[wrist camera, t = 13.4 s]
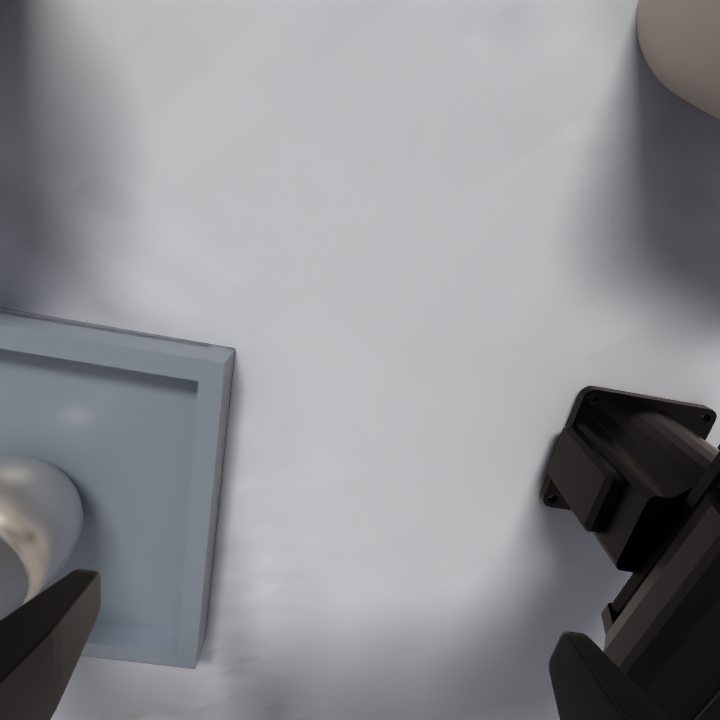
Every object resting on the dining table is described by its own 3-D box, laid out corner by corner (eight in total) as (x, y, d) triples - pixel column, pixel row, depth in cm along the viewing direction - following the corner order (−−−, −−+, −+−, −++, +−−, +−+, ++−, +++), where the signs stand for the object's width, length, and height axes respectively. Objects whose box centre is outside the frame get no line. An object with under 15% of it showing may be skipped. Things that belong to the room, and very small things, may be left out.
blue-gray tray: (235, 348, 21) (224, 363, 19) (204, 638, 27) (195, 669, 25) (-204, 272, 19) (-258, 281, 18) (-129, 598, 26) (-163, 627, 24)
